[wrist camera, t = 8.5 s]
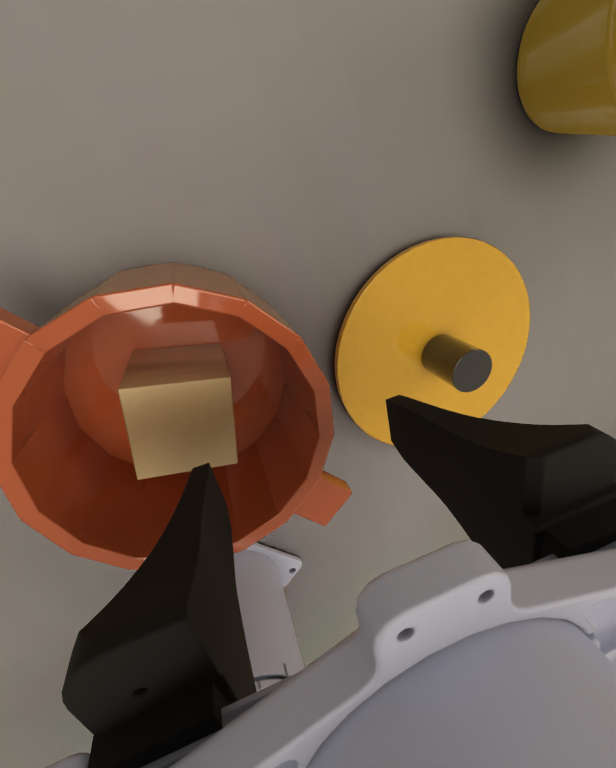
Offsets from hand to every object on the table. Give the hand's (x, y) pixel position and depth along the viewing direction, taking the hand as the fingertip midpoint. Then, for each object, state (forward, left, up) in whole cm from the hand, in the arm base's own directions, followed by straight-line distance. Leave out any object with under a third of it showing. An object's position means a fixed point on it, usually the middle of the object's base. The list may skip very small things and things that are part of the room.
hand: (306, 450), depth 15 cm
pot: (-3, +3, -9) cm, 10 cm away
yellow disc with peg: (+7, -9, -8) cm, 14 cm away
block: (-3, +3, -8) cm, 9 cm away
